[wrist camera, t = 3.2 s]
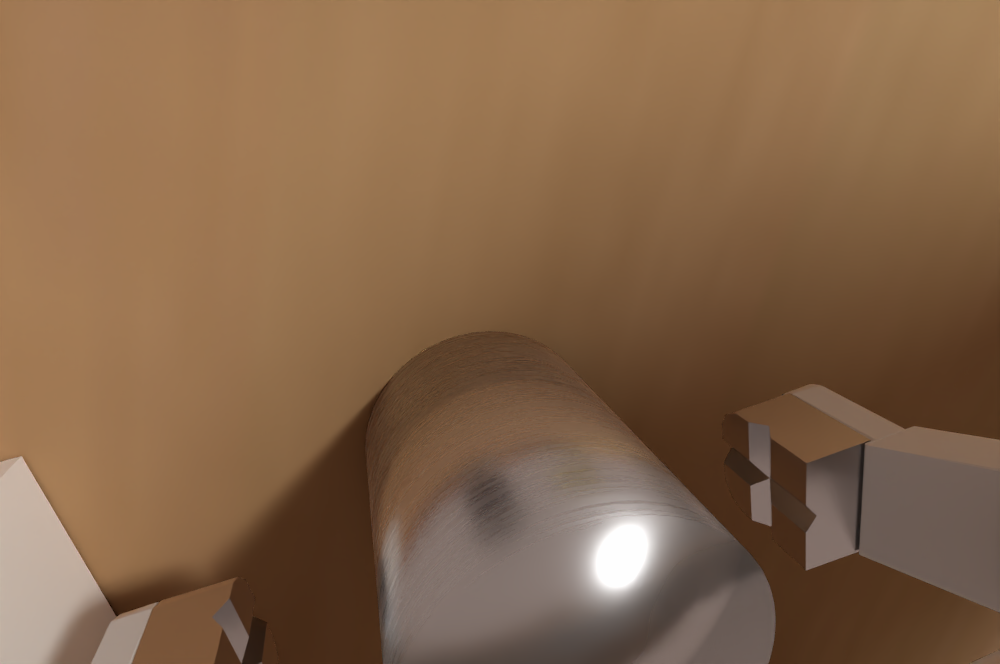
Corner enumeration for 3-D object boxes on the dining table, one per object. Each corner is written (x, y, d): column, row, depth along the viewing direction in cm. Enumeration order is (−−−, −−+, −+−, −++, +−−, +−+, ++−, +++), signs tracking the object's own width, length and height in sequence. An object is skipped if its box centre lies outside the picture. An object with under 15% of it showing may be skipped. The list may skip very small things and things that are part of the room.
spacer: (572, 304, 10) (775, 459, 5) (599, 495, 11) (775, 745, 7) (335, 368, 9) (331, 612, 5) (398, 563, 11) (443, 891, 6)
